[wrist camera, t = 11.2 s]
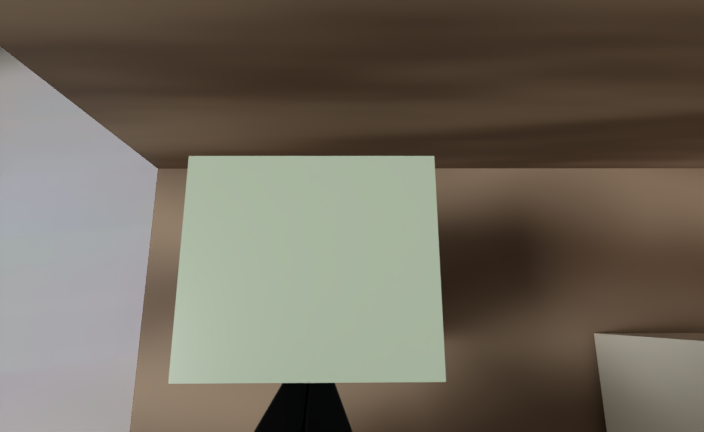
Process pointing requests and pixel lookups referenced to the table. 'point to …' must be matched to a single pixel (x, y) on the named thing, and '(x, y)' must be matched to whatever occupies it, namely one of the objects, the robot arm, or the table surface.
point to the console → (450, 172)
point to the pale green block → (309, 271)
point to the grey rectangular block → (652, 381)
